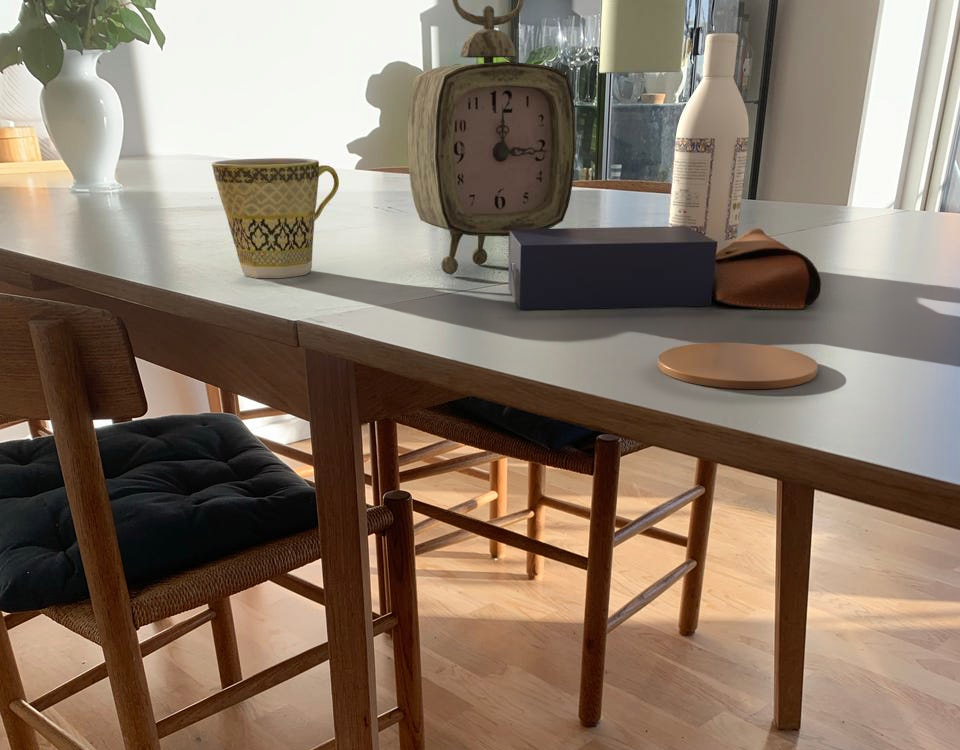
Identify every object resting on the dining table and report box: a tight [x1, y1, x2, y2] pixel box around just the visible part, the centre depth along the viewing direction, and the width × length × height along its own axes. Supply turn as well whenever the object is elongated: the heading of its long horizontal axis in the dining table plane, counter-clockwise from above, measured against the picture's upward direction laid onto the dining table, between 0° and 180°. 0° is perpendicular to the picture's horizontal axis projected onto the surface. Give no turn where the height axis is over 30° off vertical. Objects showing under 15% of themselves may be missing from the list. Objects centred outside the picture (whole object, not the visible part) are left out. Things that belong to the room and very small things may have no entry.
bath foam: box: [667, 32, 750, 253], centre depth 93 cm, size 7×7×20 cm
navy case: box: [507, 226, 718, 311], centre depth 81 cm, size 16×10×5 cm, turn 94°
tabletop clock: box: [406, 0, 577, 275], centre depth 90 cm, size 14×9×25 cm, turn 114°
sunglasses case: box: [712, 228, 822, 310], centre depth 84 cm, size 18×7×7 cm
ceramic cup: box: [211, 157, 340, 279], centre depth 93 cm, size 13×10×10 cm
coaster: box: [657, 342, 819, 390], centre depth 61 cm, size 10×10×1 cm
